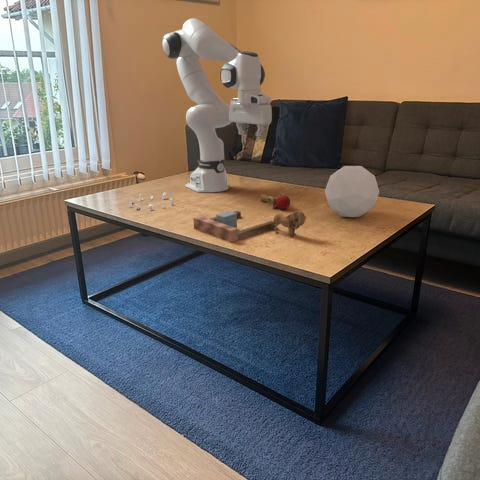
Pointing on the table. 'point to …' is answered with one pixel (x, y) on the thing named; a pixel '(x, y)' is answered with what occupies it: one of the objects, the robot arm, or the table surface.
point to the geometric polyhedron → (352, 191)
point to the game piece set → (150, 204)
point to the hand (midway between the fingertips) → (249, 135)
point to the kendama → (277, 201)
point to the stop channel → (228, 228)
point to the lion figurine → (289, 221)
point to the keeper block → (227, 218)
